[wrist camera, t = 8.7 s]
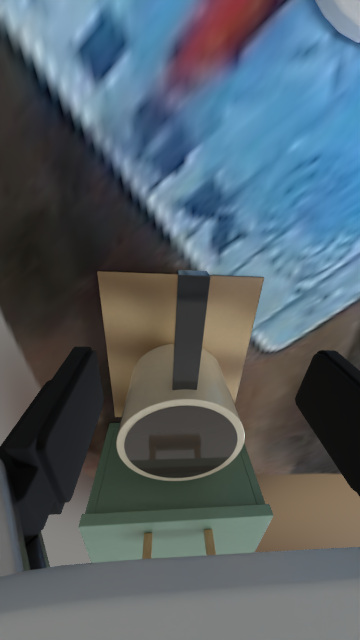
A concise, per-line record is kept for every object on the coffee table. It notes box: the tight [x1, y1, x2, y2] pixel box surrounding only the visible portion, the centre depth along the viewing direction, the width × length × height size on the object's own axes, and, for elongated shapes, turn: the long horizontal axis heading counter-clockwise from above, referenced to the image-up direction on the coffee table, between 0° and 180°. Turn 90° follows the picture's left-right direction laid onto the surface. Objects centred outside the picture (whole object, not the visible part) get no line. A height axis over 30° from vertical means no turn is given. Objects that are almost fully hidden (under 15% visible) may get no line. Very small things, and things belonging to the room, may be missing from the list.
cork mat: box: [97, 271, 264, 417], centre depth 21 cm, size 17×14×1 cm
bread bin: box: [85, 423, 265, 514], centre depth 23 cm, size 9×16×9 cm, turn 87°
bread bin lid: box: [79, 504, 273, 563], centre depth 17 cm, size 9×16×5 cm, turn 87°
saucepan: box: [116, 270, 245, 481], centre depth 17 cm, size 18×10×7 cm, turn 177°
